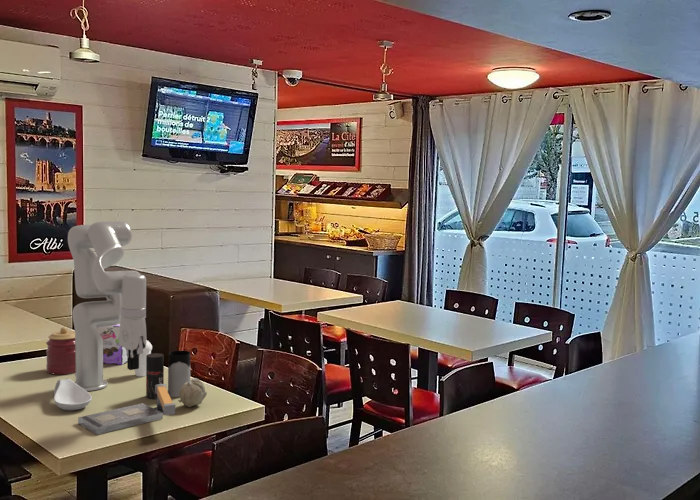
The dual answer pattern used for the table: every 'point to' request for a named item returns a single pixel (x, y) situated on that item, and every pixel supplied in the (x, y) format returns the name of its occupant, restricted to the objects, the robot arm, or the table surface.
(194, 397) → the garlic bulb
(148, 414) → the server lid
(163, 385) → the orange and grey bar
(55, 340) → the canister
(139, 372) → the soft serve ice cream cone
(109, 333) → the candy box
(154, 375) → the deodorant
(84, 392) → the spoon rest
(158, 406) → the post
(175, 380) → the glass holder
